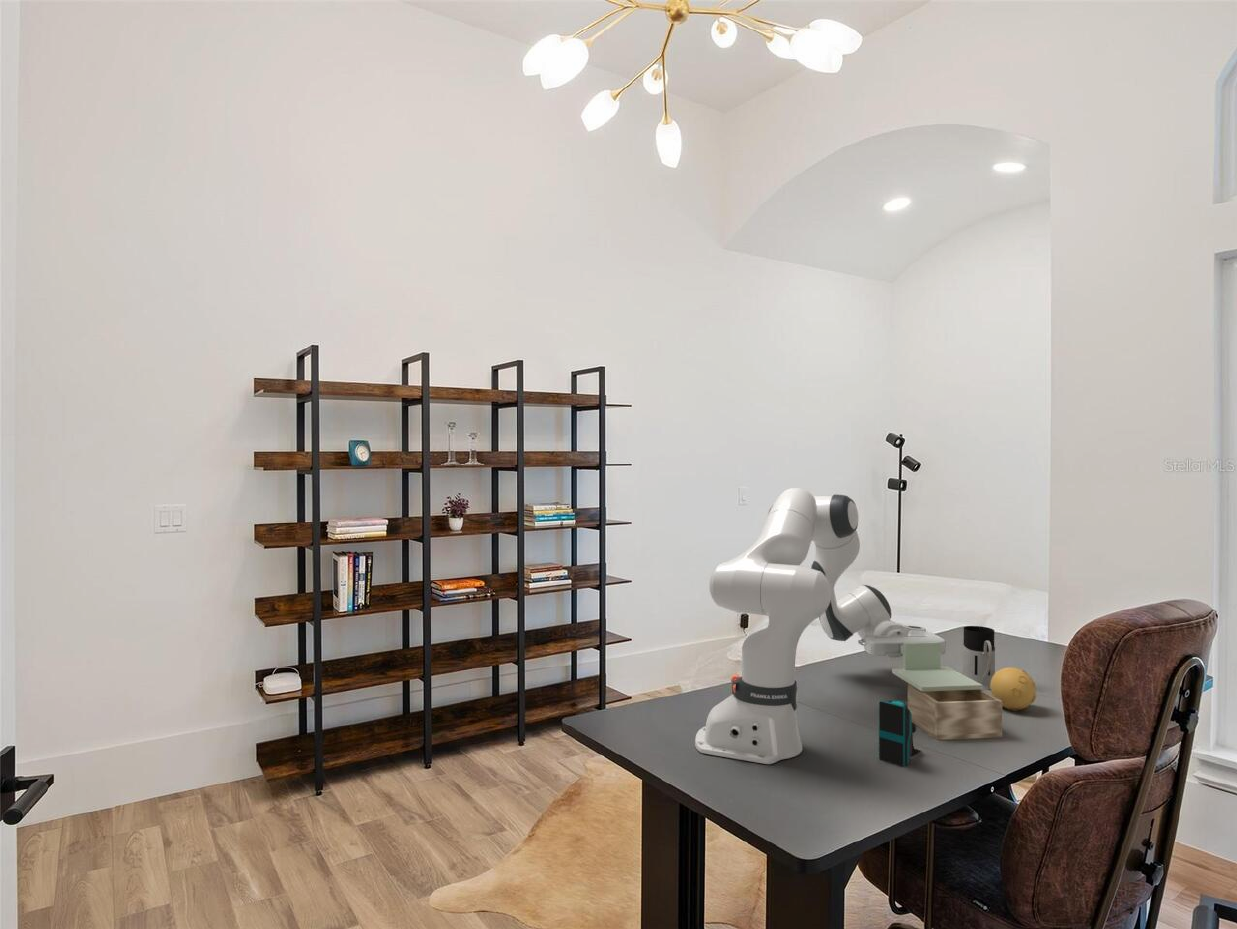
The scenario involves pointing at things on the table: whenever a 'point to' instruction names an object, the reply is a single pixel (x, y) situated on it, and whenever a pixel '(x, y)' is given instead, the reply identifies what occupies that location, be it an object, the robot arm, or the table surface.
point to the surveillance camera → (896, 732)
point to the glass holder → (979, 655)
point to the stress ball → (1013, 688)
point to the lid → (930, 669)
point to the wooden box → (956, 713)
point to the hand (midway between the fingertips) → (919, 653)
